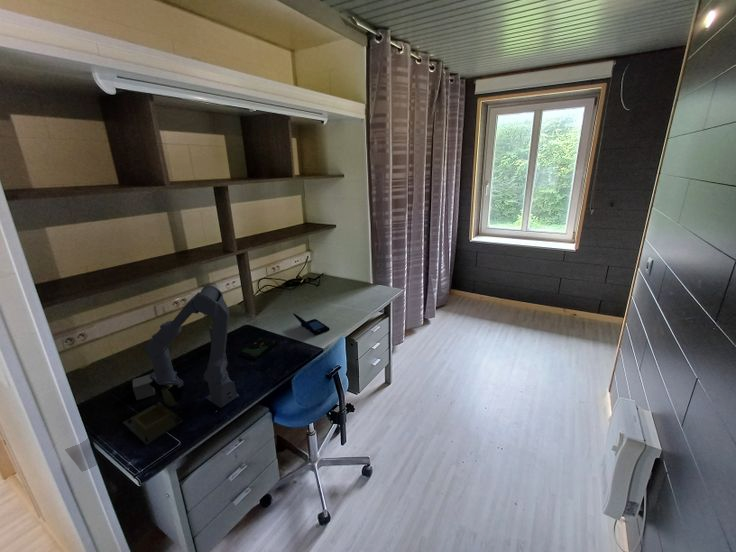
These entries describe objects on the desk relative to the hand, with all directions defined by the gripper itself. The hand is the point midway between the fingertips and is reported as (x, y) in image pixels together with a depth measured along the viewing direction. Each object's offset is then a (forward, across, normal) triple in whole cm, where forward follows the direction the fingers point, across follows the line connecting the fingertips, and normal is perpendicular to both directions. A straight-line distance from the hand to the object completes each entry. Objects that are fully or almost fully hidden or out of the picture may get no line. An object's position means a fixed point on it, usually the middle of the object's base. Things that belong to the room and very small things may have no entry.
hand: (171, 398), depth 124 cm
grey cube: (+2, +14, 0) cm, 14 cm away
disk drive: (+3, -8, -41) cm, 42 cm away
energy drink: (+2, +12, -35) cm, 37 cm away
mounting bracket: (+2, -3, +10) cm, 10 cm away
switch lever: (+2, 0, 0) cm, 2 cm away
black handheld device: (+2, -21, -68) cm, 71 cm away
